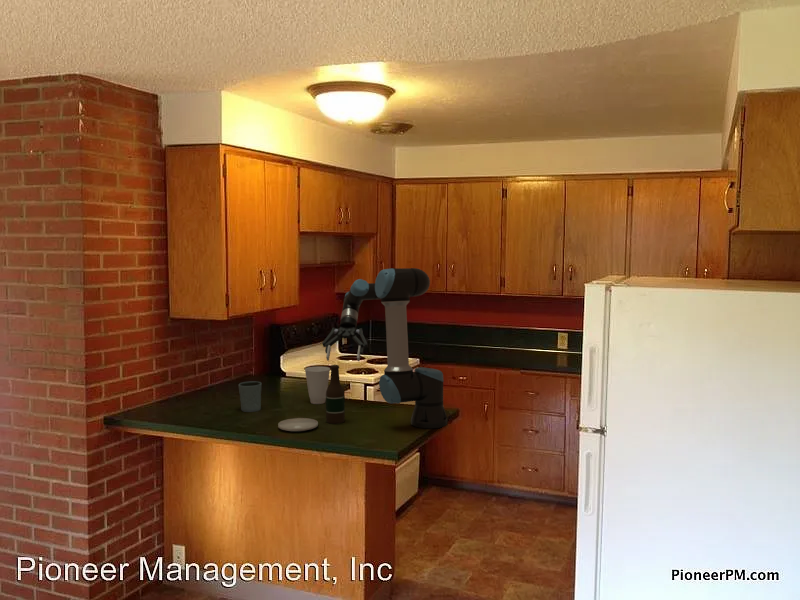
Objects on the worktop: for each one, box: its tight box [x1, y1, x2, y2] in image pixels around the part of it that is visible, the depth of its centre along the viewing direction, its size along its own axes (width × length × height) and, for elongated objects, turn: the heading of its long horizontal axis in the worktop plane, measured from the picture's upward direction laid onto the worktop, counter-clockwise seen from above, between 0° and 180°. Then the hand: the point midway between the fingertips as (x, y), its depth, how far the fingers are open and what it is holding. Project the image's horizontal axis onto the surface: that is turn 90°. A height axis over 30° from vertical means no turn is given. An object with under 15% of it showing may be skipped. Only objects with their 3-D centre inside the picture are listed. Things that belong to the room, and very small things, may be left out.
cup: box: [304, 366, 331, 405], centre depth 324 cm, size 12×12×16 cm
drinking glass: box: [237, 380, 262, 413], centre depth 311 cm, size 10×10×12 cm
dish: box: [277, 417, 319, 433], centre depth 280 cm, size 16×16×2 cm
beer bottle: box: [325, 364, 346, 425], centre depth 289 cm, size 8×8×24 cm
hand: (342, 359), depth 301 cm, fingers open, 13 cm apart
